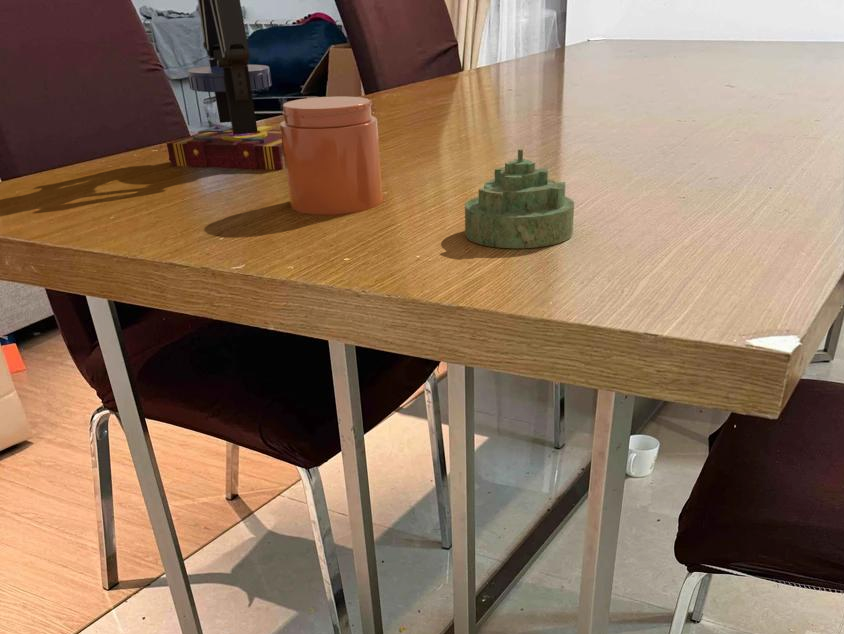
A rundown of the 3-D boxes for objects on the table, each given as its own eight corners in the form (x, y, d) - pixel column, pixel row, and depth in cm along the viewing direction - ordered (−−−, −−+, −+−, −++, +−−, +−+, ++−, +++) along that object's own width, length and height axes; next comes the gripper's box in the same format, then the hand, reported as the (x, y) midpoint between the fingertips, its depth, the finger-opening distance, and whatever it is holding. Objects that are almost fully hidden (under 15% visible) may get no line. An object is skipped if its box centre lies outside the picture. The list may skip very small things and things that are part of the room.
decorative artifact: (564, 218, 82) (463, 222, 82) (569, 137, 78) (461, 141, 78) (579, 246, 74) (467, 250, 74) (585, 158, 70) (466, 162, 70)
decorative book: (284, 188, 97) (277, 140, 94) (164, 183, 101) (154, 136, 98) (325, 169, 105) (320, 123, 102) (213, 164, 110) (205, 121, 106)
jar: (296, 239, 79) (278, 112, 73) (291, 217, 86) (275, 99, 80) (390, 231, 80) (381, 105, 74) (378, 210, 87) (369, 93, 81)
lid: (271, 80, 102) (268, 63, 100) (272, 89, 94) (270, 70, 93) (192, 84, 100) (189, 66, 99) (188, 93, 93) (184, 74, 92)
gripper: (254, -131, 79) (288, 138, 93) (218, -114, 95) (252, 112, 109) (173, -131, 77) (220, 144, 91) (150, -114, 93) (193, 117, 107)
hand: (238, 127), depth 100 cm, fingers closed on lid, 9 cm apart
